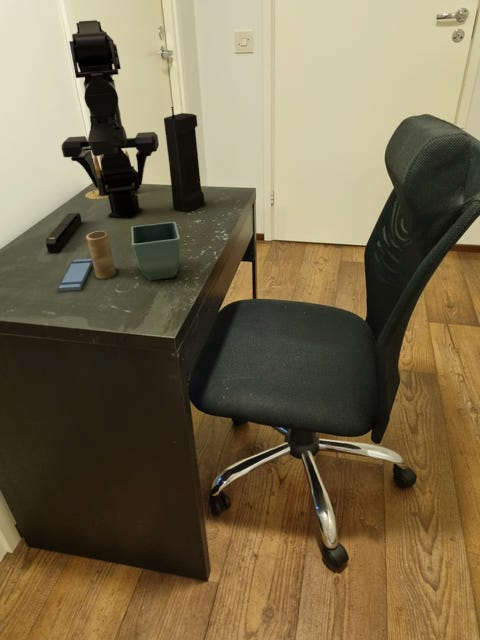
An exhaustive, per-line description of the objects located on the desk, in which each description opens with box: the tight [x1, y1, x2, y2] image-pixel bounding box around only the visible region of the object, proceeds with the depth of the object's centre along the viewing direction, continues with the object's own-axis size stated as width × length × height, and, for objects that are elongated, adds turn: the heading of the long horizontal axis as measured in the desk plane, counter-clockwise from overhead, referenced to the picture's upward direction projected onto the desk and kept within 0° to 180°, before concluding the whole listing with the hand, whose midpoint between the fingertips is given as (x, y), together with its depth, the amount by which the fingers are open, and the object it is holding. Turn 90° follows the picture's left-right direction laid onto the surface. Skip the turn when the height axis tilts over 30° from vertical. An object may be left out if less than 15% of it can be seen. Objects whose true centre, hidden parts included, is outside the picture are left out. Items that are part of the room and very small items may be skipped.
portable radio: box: [163, 106, 205, 212], centre depth 118 cm, size 8×6×25 cm
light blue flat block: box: [58, 258, 93, 292], centre depth 95 cm, size 4×12×1 cm, turn 3°
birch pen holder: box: [85, 230, 117, 280], centre depth 93 cm, size 4×4×8 cm
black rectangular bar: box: [45, 212, 82, 254], centre depth 111 cm, size 18×3×3 cm, turn 179°
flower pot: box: [130, 221, 181, 281], centre depth 91 cm, size 9×9×9 cm
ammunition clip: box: [92, 150, 138, 197], centre depth 133 cm, size 11×2×12 cm, turn 93°
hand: (119, 186), depth 100 cm, fingers open, 9 cm apart
